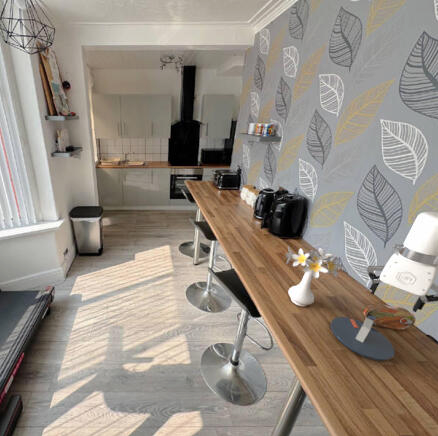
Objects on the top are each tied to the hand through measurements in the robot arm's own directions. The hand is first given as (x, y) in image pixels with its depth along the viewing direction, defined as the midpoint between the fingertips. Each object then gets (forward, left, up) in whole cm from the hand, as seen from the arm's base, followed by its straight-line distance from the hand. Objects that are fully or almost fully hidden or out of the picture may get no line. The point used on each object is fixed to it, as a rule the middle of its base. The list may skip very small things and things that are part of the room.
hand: (392, 300), depth 74 cm
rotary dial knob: (+3, +1, -17) cm, 18 cm away
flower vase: (+20, -13, -19) cm, 31 cm away
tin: (-9, -12, -19) cm, 25 cm away
